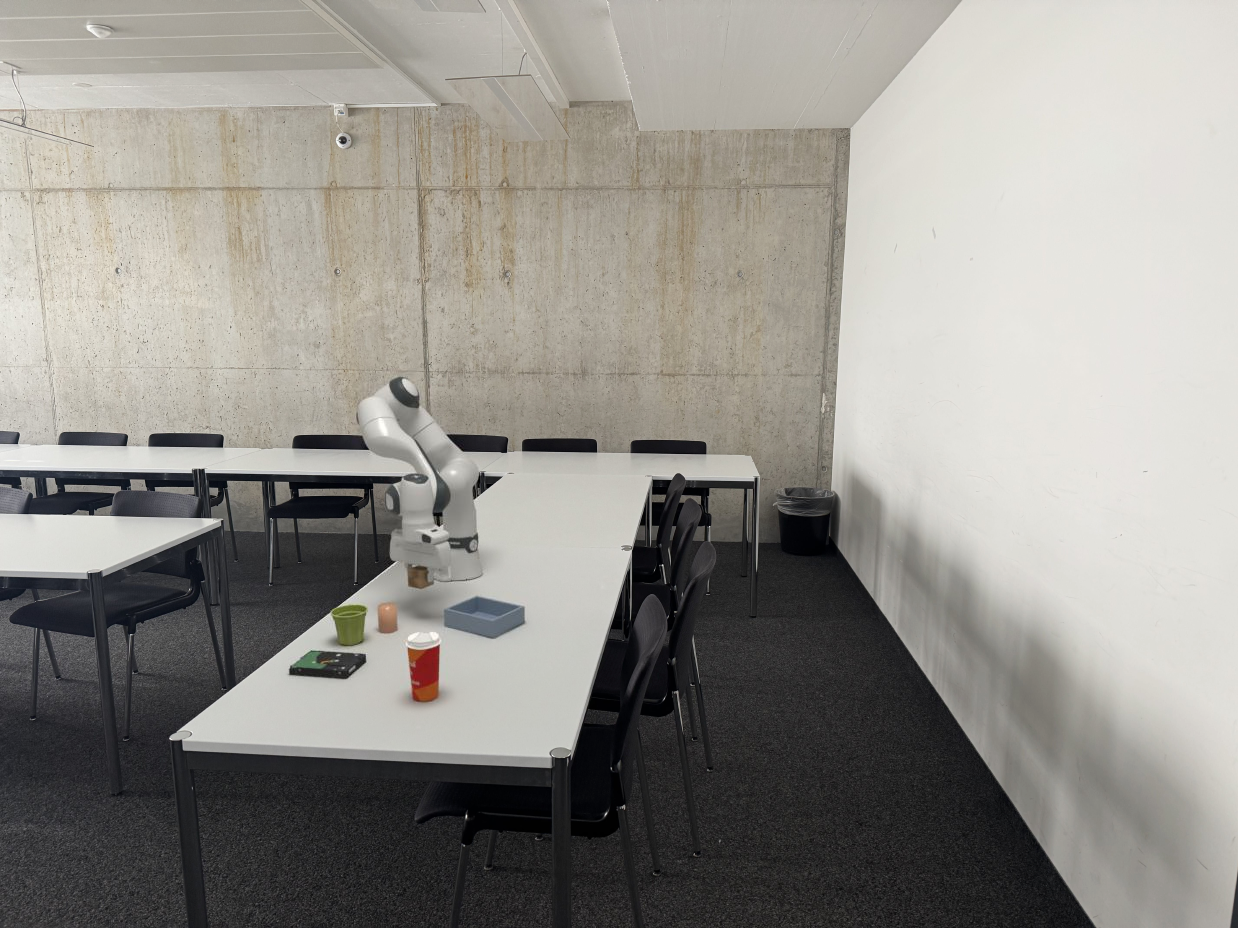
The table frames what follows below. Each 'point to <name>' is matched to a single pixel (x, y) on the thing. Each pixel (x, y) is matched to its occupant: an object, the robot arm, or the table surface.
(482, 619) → the tote
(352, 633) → the plant pot
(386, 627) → the terracotta cylinder
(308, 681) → the table surface
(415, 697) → the paper cup
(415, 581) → the walnut cube
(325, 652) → the disk drive
